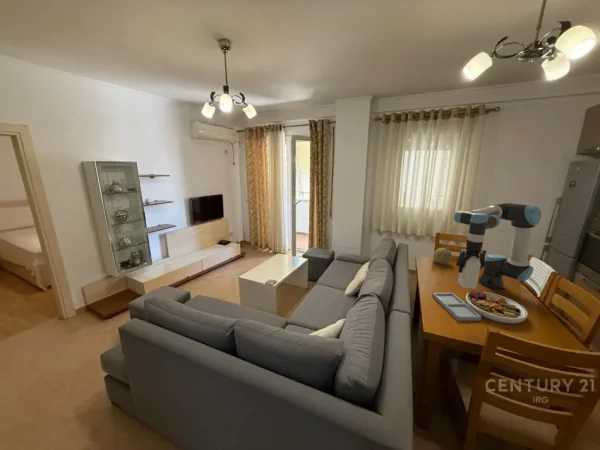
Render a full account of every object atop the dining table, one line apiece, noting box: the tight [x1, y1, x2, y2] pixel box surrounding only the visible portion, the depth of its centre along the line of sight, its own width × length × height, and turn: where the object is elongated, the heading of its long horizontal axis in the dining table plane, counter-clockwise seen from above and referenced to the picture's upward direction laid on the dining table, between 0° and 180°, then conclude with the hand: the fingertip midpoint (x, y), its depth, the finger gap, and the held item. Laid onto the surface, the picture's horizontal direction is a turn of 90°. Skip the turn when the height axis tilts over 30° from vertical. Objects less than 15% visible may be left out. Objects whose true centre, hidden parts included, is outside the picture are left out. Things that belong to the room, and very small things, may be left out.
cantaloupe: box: [433, 247, 453, 265], centre depth 221 cm, size 15×15×15 cm
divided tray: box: [431, 292, 483, 322], centre depth 154 cm, size 14×27×3 cm, turn 1°
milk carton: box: [457, 255, 481, 289], centre depth 141 cm, size 7×7×19 cm
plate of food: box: [465, 290, 528, 324], centre depth 150 cm, size 30×30×8 cm
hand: (468, 277), depth 142 cm, fingers closed on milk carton, 8 cm apart
